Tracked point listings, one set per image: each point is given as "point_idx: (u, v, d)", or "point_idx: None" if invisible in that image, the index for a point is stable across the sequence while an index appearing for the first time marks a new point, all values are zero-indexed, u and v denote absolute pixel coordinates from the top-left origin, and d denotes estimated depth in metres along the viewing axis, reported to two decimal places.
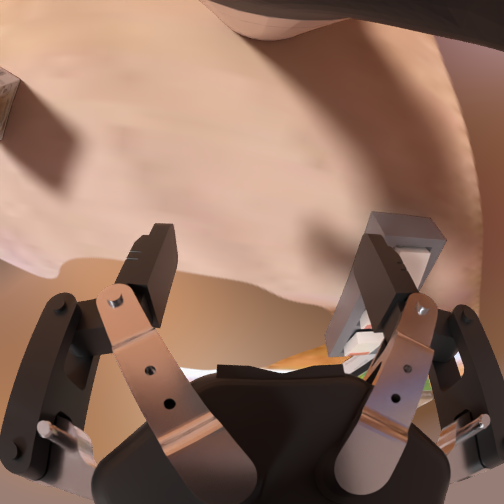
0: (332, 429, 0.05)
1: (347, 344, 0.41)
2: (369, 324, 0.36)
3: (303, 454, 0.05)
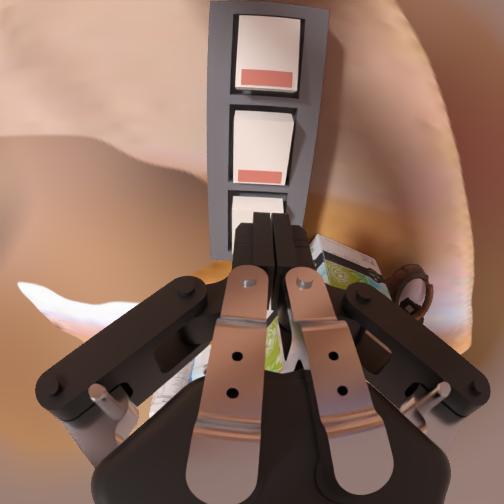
0: (304, 450, 0.05)
1: None
2: (241, 167, 0.23)
3: (303, 454, 0.05)
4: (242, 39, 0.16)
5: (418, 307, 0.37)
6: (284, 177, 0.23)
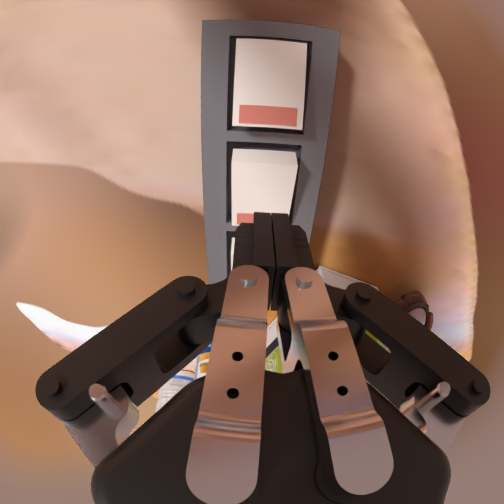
0: (303, 451, 0.05)
1: None
2: (240, 211, 0.22)
3: (303, 454, 0.05)
4: (240, 67, 0.15)
5: None
6: None
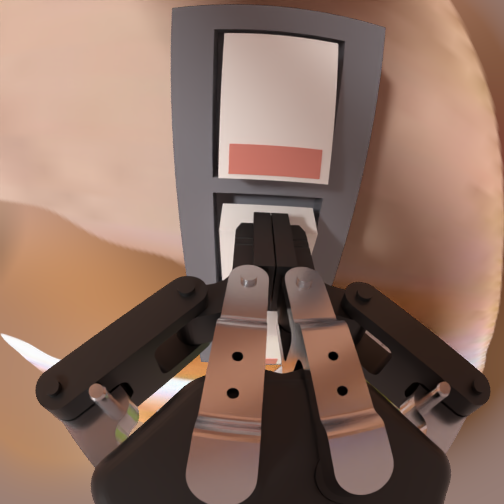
0: (303, 451, 0.05)
1: None
2: None
3: (303, 454, 0.05)
4: (230, 81, 0.09)
5: None
6: None
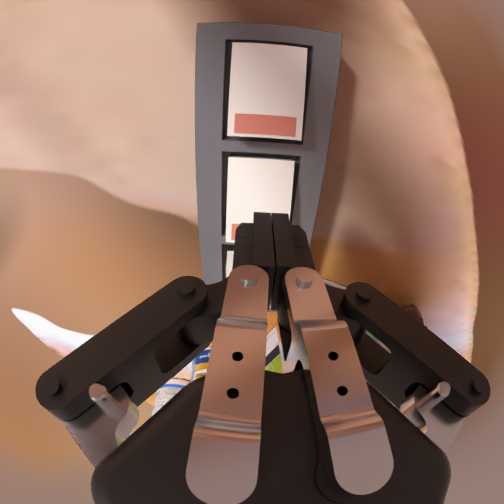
0: (303, 451, 0.05)
1: None
2: (235, 221, 0.20)
3: (303, 454, 0.05)
4: (236, 73, 0.14)
5: None
6: None
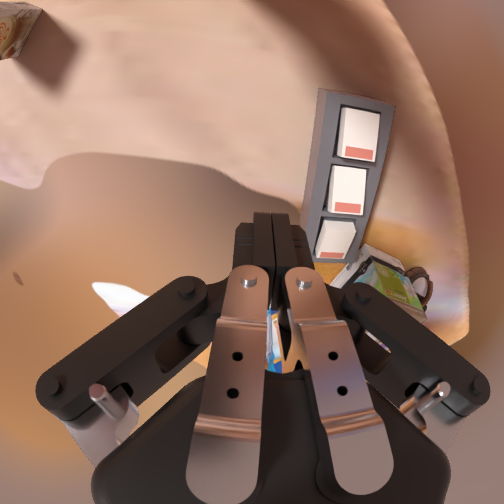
0: (303, 451, 0.05)
1: (318, 242, 0.41)
2: (337, 200, 0.35)
3: (303, 454, 0.05)
4: (347, 125, 0.29)
5: (422, 298, 0.50)
6: (362, 208, 0.35)
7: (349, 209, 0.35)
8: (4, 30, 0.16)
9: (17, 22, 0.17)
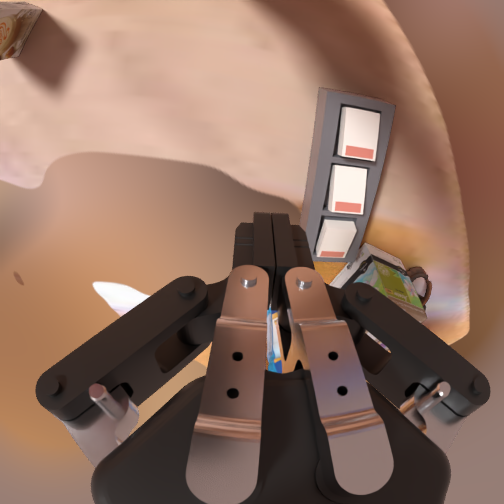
0: (303, 450, 0.05)
1: (318, 241, 0.41)
2: (337, 199, 0.35)
3: (303, 454, 0.05)
4: (347, 124, 0.29)
5: (421, 298, 0.50)
6: (362, 208, 0.35)
7: (349, 208, 0.35)
8: (4, 30, 0.16)
9: (17, 22, 0.17)
